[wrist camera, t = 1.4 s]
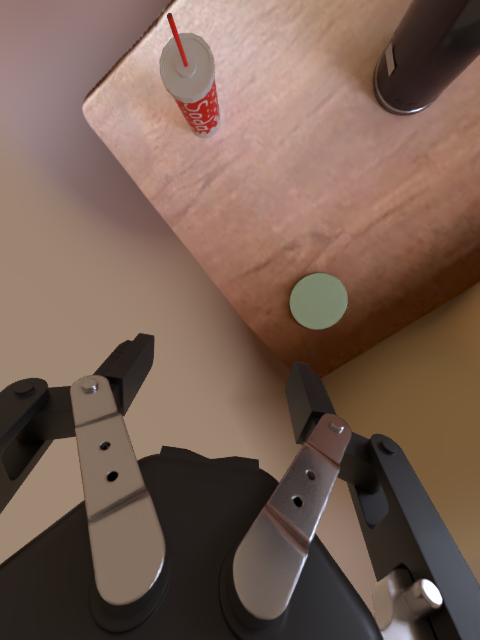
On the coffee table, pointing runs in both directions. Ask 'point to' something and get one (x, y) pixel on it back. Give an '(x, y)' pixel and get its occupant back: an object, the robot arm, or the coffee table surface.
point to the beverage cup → (191, 80)
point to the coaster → (318, 301)
